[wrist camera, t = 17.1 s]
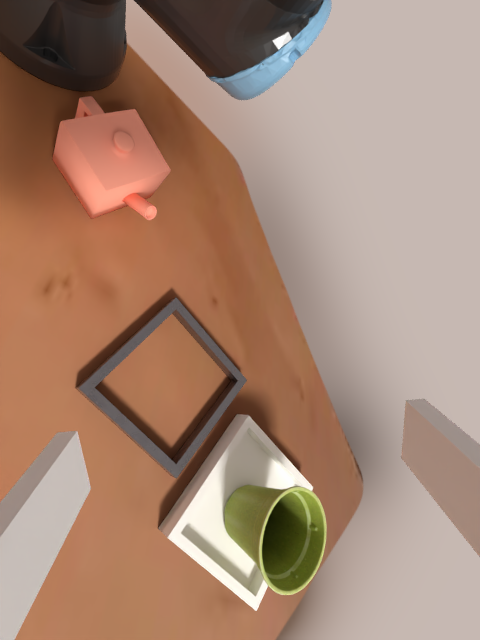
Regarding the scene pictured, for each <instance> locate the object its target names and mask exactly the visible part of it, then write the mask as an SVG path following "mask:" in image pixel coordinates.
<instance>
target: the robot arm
mask: <svg viewBox="0 0 480 640" xmlns="http://www.w3.org/2000/svg"><path fill="white" fill-rule="evenodd" d="M134 1H135V2H136V3H137V4H138V5H139V6H140V7H141V8H142V9H143V10H144V11H145V12H146V13H147V14H148V15H149V16H150V17H151V18H152V19H153V20H154V21H155V22H156V23H157V24H158V25H159V26H160V27H161V28H162V29H163V30H164V31H165V32H166V34H168V36H169V37H170V38H171V39H172V40H173V41H174V42H175V43H176V44H177V45H178V46H179V47H180V48H181V49H182V50H183V51H184V52H185V53H186V54H187V55H188V56H189V57H190V58H191V59H192V60H193V61H194V62H195V63H196V64H197V65H198V66H199V67H200V69H202V71H204V73H205V74H206V76H207V77H208V78H209V79H210V80H211V81H213V82H216V83H217V84H218V85H219V86H221V87H222V88H223V89H224V90H225V91H226V92H227V93H228V94H230V95H231V96H232V97H234V98H236V99H238V100H248V99H252V98H254V97H256V96H258V95H260V94H261V93H263V92H265V91H266V90H268V89H269V88H270V87H271V86H273V85H274V84H275V83H276V82H277V81H278V80H279V79H281V78H282V77H283V76H284V75H285V74H286V73H287V72H288V71H289V70H290V69H291V68H292V66H293V64H294V62H295V60H297V59H298V58H299V57H301V56H302V55H303V54H304V53H305V52H306V51H307V50H308V48H309V47H310V46H311V45H312V43H313V42H314V41H315V39H316V38H317V36H318V35H319V33H320V32H321V30H322V29H323V27H324V25H325V23H326V21H327V19H328V17H329V14H330V11H331V0H134ZM125 12H126V0H0V51H1V52H2V53H3V54H4V55H5V56H6V57H8V58H9V59H10V60H11V61H13V62H14V63H15V64H17V65H18V66H20V67H21V68H22V69H24V70H26V71H27V72H29V73H30V74H32V75H34V76H36V77H38V78H40V79H42V80H44V81H46V82H48V83H51V84H53V85H56V86H59V87H62V88H66V89H71V90H77V91H94V90H99V89H102V88H104V87H106V86H108V85H110V84H111V83H112V82H113V81H114V80H115V79H116V78H117V76H118V74H119V72H120V69H121V67H122V64H123V61H124V58H125V55H126V48H127V41H126V31H125ZM401 458H402V460H403V461H404V462H405V463H406V465H407V466H408V467H409V468H410V470H411V471H412V472H413V473H414V475H415V476H416V477H417V478H418V480H419V481H420V482H421V483H422V485H423V486H424V487H425V488H426V490H427V491H428V492H429V493H430V495H431V496H432V497H433V499H434V500H435V501H436V502H437V504H438V505H439V506H440V507H441V509H442V510H443V511H444V512H445V514H446V515H447V516H448V517H449V519H450V520H451V521H452V522H453V524H454V525H455V526H456V528H457V529H458V530H459V531H460V533H461V534H462V535H463V536H464V538H465V539H466V540H467V541H468V543H469V544H470V545H471V546H472V548H473V549H474V550H475V552H476V553H477V554H478V555H479V556H480V445H479V444H478V443H477V442H476V441H475V440H474V439H472V438H471V437H470V436H469V435H467V434H466V433H465V432H464V431H463V430H461V429H460V428H459V427H458V426H457V425H455V424H454V423H453V422H452V421H450V420H449V419H448V418H447V417H446V416H445V415H443V414H442V413H441V412H440V411H438V410H437V409H436V408H435V407H434V406H432V405H431V404H430V403H429V402H428V401H426V400H425V399H417V400H407V401H406V406H405V418H404V430H403V443H402V456H401ZM90 489H91V487H90V483H89V479H88V474H87V470H86V466H85V462H84V457H83V453H82V449H81V445H80V441H79V436H78V432H77V431H70V432H60V433H57V434H56V435H55V436H54V437H53V439H52V440H51V441H50V442H49V443H48V445H47V446H46V447H45V448H44V450H43V451H42V452H41V453H40V454H39V456H38V457H37V458H36V459H35V461H34V462H33V463H32V464H31V466H30V467H29V468H28V469H27V470H26V472H25V473H24V474H23V475H22V477H21V478H20V479H19V480H18V481H17V483H16V484H15V485H14V486H13V488H12V489H11V490H10V491H9V493H8V494H7V495H6V496H5V497H4V499H3V500H2V501H1V502H0V640H14V639H15V637H16V635H17V633H18V631H19V629H20V628H21V626H22V624H23V622H24V620H25V618H26V616H27V614H28V612H29V610H30V608H31V606H32V604H33V602H34V600H35V598H36V596H37V594H38V592H39V590H40V588H41V586H42V584H43V582H44V580H45V578H46V576H47V574H48V572H49V570H50V568H51V566H52V564H53V562H54V560H55V558H56V557H57V555H58V553H59V551H60V549H61V547H62V545H63V543H64V541H65V539H66V537H67V535H68V533H69V531H70V529H71V527H72V525H73V523H74V521H75V519H76V517H77V515H78V513H79V511H80V509H81V507H82V505H83V503H84V501H85V499H86V497H87V495H88V493H89V491H90Z"/></svg>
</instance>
